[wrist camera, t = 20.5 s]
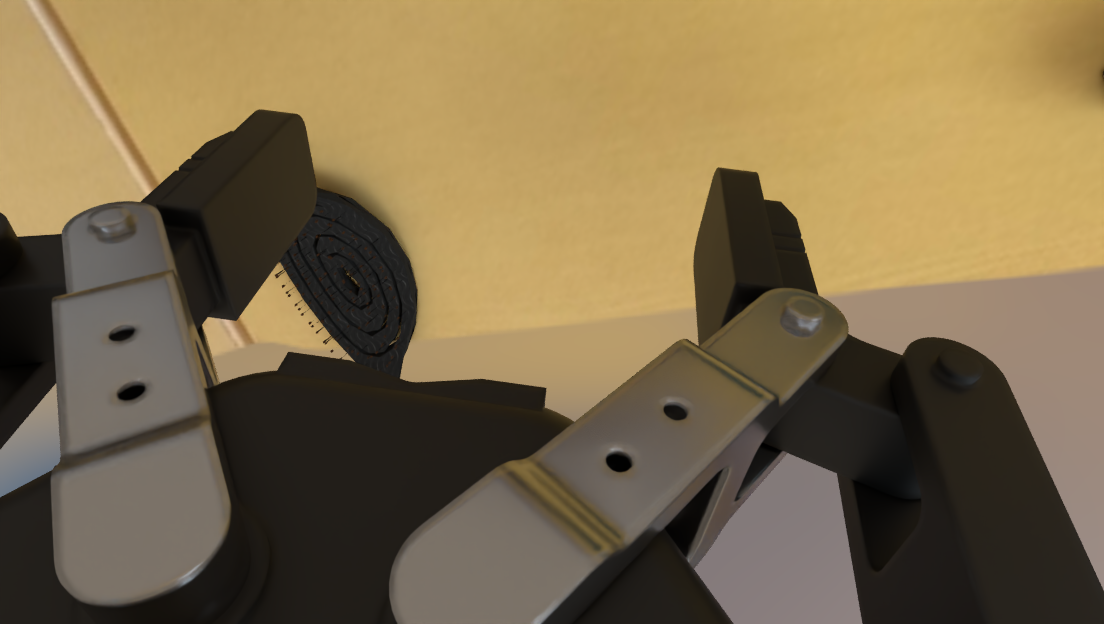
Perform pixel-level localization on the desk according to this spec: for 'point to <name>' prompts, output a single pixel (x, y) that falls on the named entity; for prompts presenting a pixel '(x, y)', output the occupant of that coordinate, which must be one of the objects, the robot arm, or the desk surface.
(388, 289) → the hairbrush
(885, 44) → the desk surface
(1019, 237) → the desk surface
